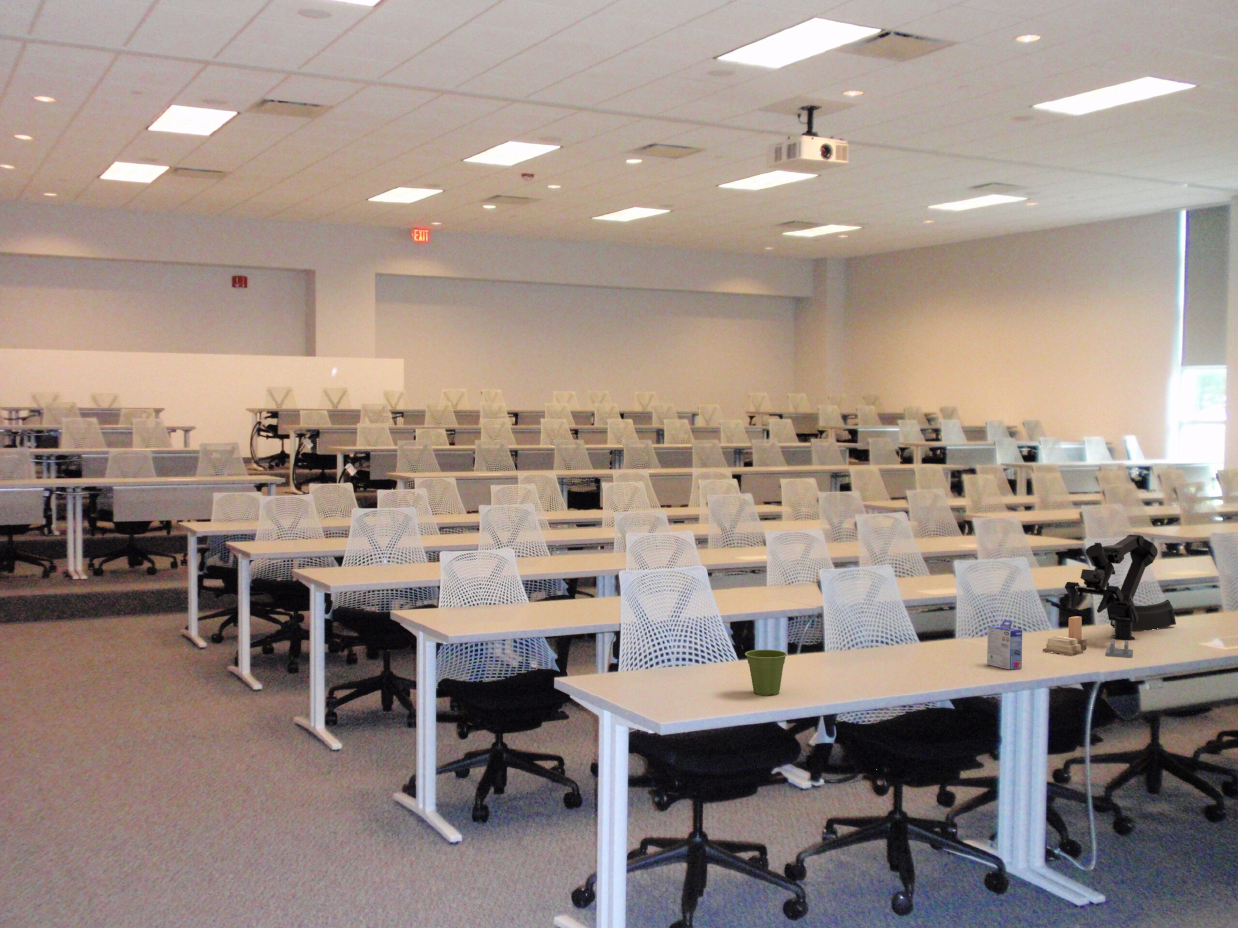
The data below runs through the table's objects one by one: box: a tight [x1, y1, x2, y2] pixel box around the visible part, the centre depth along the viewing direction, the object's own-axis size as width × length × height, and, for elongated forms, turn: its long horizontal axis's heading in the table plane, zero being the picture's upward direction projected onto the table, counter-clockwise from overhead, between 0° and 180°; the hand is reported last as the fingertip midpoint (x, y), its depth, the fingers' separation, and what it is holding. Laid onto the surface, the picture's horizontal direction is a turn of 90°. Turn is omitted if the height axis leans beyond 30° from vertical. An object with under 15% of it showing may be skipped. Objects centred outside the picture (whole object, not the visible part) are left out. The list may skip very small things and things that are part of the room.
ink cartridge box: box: [986, 619, 1023, 670], centre depth 356 cm, size 10×6×14 cm, turn 27°
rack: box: [1042, 635, 1088, 657], centre depth 382 cm, size 15×10×5 cm, turn 130°
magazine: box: [1110, 599, 1177, 632], centre depth 424 cm, size 17×3×30 cm
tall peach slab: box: [1068, 615, 1083, 640], centre depth 384 cm, size 5×2×11 cm, turn 130°
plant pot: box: [744, 649, 788, 697], centre depth 320 cm, size 12×12×11 cm
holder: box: [1104, 639, 1134, 659], centre depth 376 cm, size 10×8×4 cm
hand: (1084, 610), depth 389 cm, fingers open, 9 cm apart
